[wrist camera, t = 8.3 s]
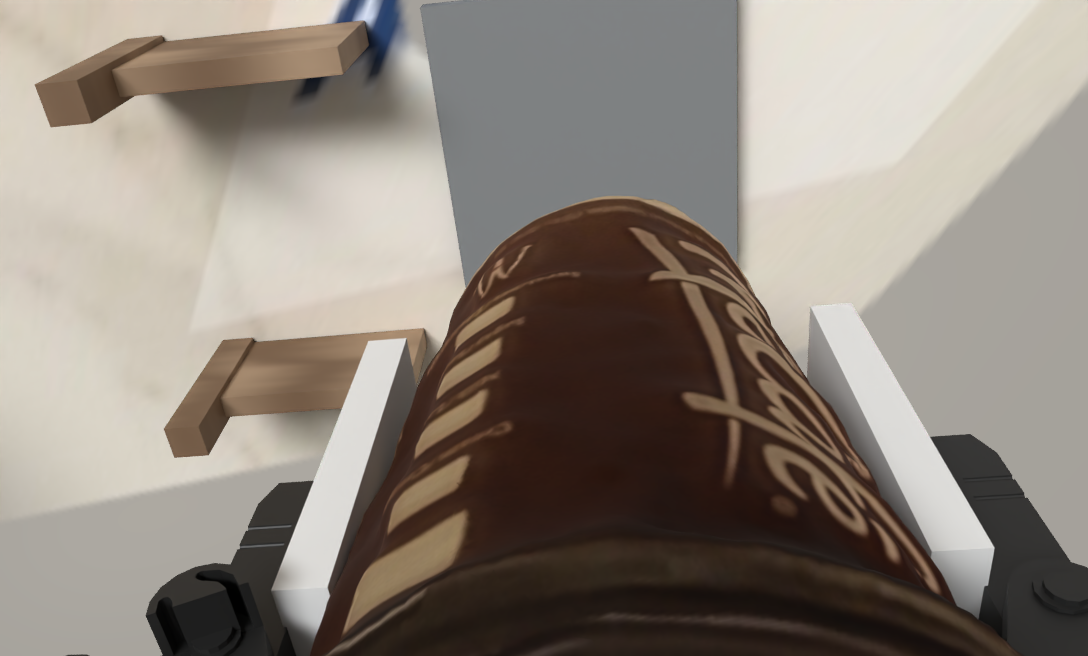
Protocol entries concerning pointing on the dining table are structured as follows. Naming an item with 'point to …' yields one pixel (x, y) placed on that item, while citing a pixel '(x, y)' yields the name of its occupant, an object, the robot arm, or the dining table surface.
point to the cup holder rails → (159, 67)
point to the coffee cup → (630, 474)
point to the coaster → (583, 110)
